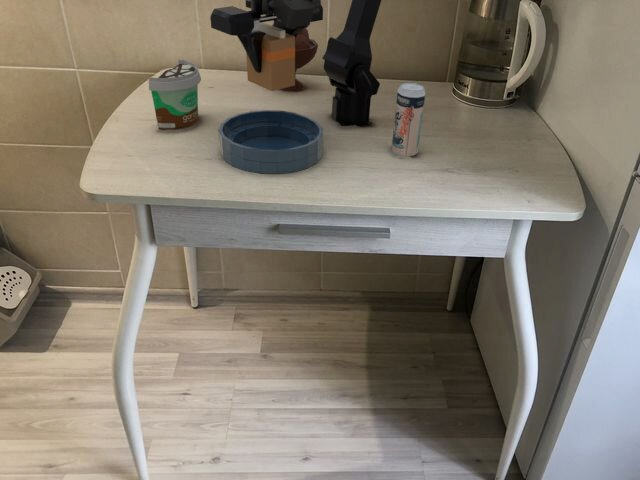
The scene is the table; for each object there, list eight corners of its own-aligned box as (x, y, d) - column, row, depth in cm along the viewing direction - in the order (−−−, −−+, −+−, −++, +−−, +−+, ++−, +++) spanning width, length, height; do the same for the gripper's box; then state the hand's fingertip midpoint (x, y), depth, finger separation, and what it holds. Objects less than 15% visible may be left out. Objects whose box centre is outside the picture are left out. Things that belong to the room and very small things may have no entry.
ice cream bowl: (315, 97, 127) (317, 23, 118) (262, 93, 126) (260, 19, 118) (318, 81, 135) (320, 10, 127) (269, 77, 135) (268, 6, 126)
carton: (270, 75, 104) (269, 19, 99) (295, 85, 101) (295, 28, 95) (247, 80, 101) (244, 23, 96) (272, 91, 98) (270, 33, 92)
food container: (187, 139, 105) (181, 83, 99) (155, 134, 106) (147, 78, 100) (215, 114, 115) (211, 62, 109) (185, 110, 116) (179, 58, 110)
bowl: (304, 130, 112) (305, 107, 109) (335, 170, 99) (337, 145, 97) (212, 138, 106) (210, 114, 104) (232, 182, 93) (231, 155, 91)
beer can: (386, 148, 108) (393, 82, 101) (410, 145, 109) (418, 80, 102) (398, 159, 104) (406, 92, 97) (422, 156, 106) (431, 90, 99)
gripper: (252, -19, 80) (256, 94, 90) (348, -30, 92) (344, 71, 101) (204, -33, 86) (213, 74, 96) (300, -42, 98) (300, 55, 107)
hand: (270, 69), depth 100 cm, fingers closed on carton, 5 cm apart
